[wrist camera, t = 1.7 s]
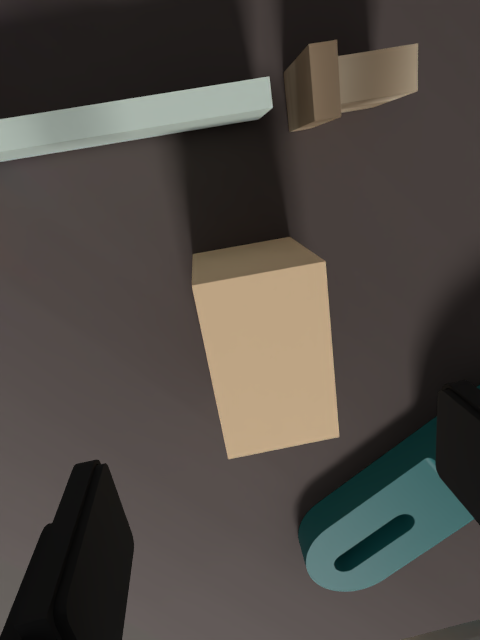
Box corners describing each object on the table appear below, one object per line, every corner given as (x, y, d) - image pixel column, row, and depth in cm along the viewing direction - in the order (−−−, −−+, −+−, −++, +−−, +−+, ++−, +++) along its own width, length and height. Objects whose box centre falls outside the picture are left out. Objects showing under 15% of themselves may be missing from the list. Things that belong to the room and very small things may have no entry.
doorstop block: (289, 236, 20) (325, 261, 15) (304, 372, 23) (339, 436, 17) (192, 253, 20) (191, 285, 14) (220, 388, 23) (228, 459, 17)
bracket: (500, 366, 24) (630, 450, 17) (543, 430, 27) (674, 528, 19) (278, 529, 27) (308, 660, 20) (334, 574, 30) (380, 707, 22)
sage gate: (255, 94, 17) (269, 76, 14) (261, 143, 18) (276, 137, 15) (-97, 151, 17) (-168, 146, 13) (-76, 199, 17) (-138, 206, 14)
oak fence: (370, 58, 18) (420, 26, 14) (372, 118, 18) (420, 103, 15) (-206, 150, 17) (-330, 144, 13) (-176, 209, 17) (-283, 219, 13)
